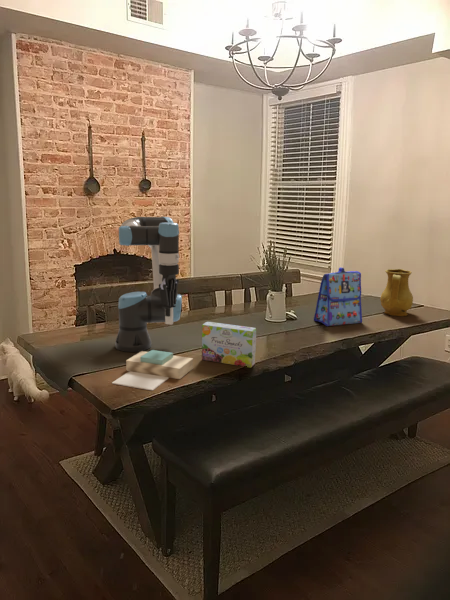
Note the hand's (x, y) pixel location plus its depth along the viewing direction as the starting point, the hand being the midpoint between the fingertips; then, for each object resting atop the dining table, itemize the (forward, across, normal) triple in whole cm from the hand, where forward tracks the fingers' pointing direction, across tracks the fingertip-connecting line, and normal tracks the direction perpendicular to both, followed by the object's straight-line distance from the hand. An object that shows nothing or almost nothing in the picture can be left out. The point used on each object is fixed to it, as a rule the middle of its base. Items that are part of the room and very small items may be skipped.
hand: (169, 323), depth 197 cm
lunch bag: (+15, +88, -54) cm, 105 cm away
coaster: (+11, -10, 0) cm, 15 cm away
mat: (+15, -23, 0) cm, 27 cm away
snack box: (+16, +8, -22) cm, 28 cm away
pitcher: (+15, +119, -81) cm, 145 cm away
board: (+15, -10, -1) cm, 18 cm away
